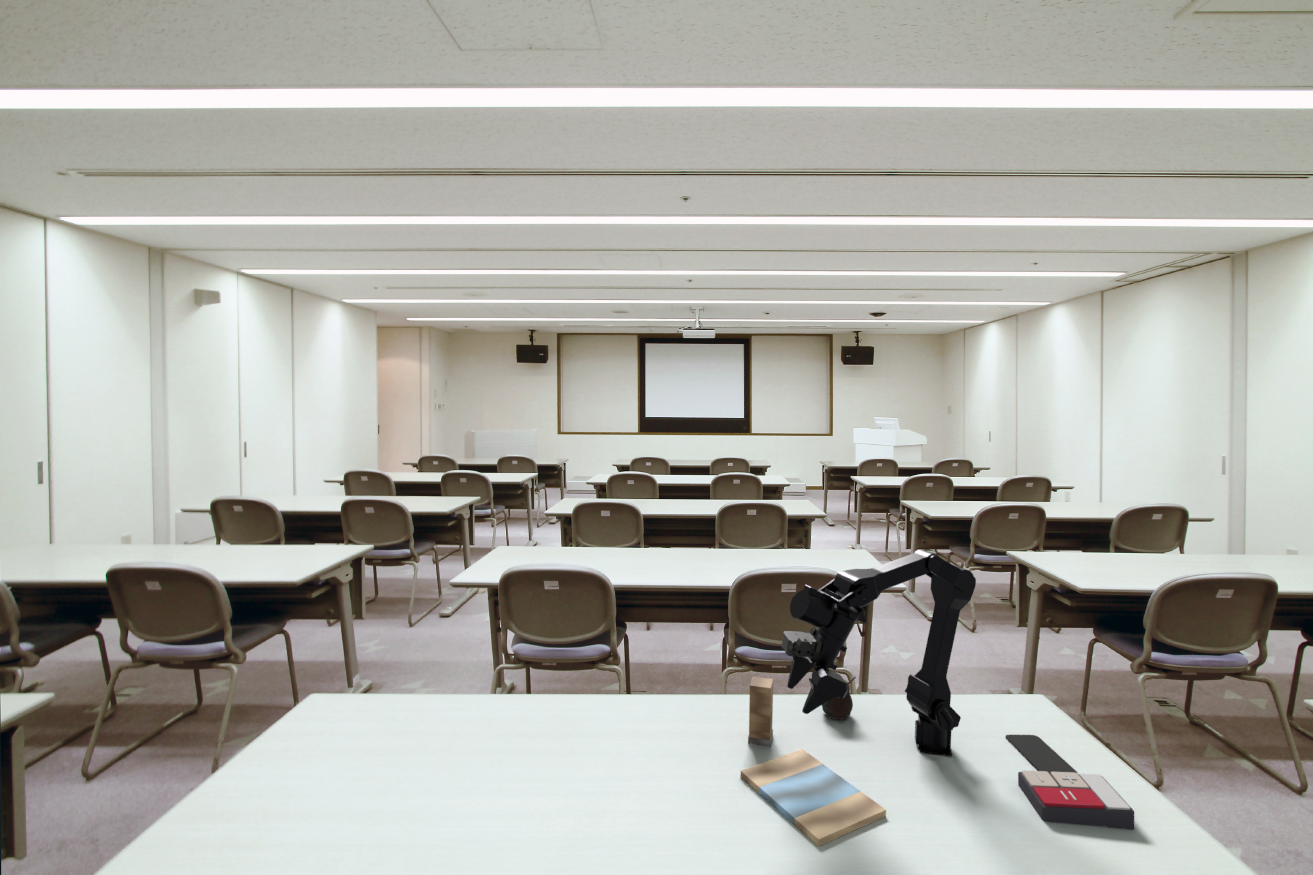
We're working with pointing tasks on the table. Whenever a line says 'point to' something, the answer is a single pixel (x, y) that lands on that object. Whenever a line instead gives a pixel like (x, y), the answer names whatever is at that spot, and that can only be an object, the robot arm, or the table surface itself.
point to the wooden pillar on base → (761, 712)
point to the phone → (1039, 754)
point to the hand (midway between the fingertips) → (796, 699)
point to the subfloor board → (812, 796)
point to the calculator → (1075, 799)
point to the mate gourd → (839, 705)
